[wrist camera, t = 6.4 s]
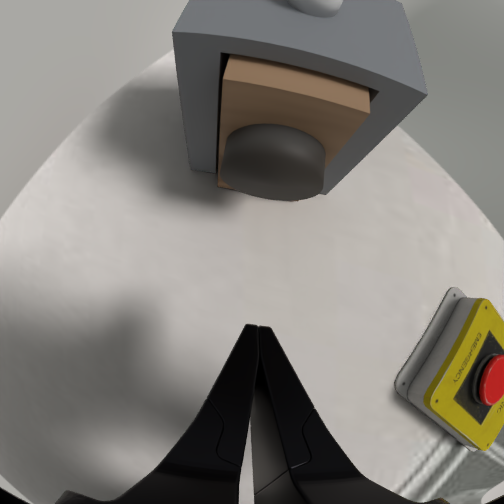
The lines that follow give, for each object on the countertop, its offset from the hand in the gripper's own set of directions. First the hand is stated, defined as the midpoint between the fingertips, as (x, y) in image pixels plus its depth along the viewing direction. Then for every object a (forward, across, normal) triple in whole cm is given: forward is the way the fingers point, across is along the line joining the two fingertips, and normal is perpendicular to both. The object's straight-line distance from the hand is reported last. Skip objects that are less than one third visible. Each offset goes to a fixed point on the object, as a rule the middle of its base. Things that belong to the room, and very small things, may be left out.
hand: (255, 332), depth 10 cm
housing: (+14, 0, -3) cm, 14 cm away
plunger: (+12, 0, -1) cm, 12 cm away
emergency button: (+4, -20, +8) cm, 22 cm away
